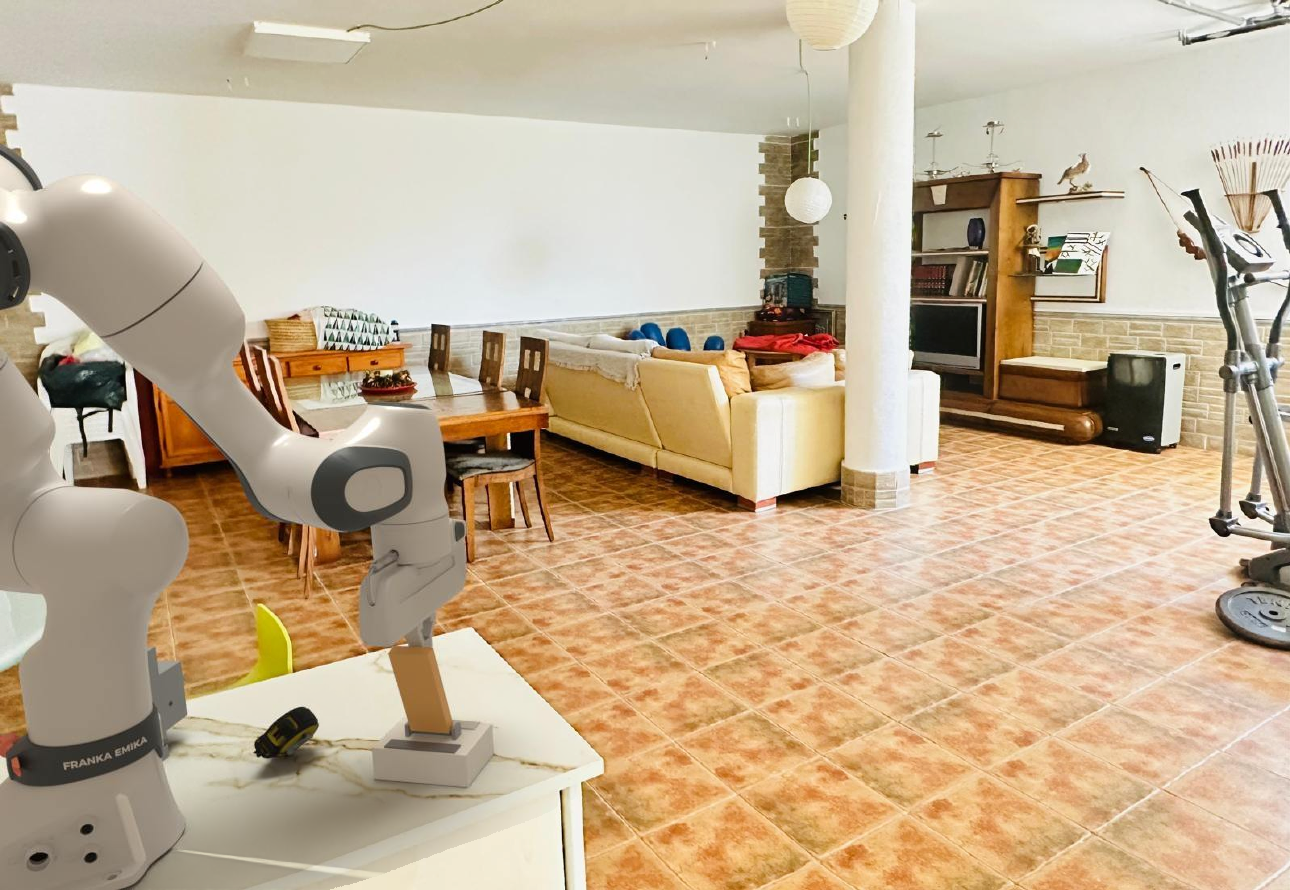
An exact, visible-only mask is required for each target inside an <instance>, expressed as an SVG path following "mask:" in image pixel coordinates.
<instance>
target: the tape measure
mask: <svg viewBox="0 0 1290 890" xmlns="http://www.w3.org/2000/svg"><path fill="white" fill-rule="evenodd" d="M319 726H320V723H319V720H318V718H317V716H316V715H315V714H314V713H313V711H312V710H311V709H310V708H307V707H305V706H298V707H295V708H293V709H290V710H288V711H286V712H285V713H284V714H282V715H281V716H280V717H279V718H278V719H276V720H275V721H274V722H273V723H271V725H270V726H269V727H268V728H267V729H266V731H265V732H264V733H263V734H261V735H260V736H259V737H258V738H256V739H255V741H254V744H253V747H254V749H255V750H254V751H253V754H254V755H255V757H256V758H260V757H262V758H263V759H267V760H269V759H272V758H273V759H274V758H282V757H283V758H284V757H287V756H291V755H293V753H294V752H295V751H296V750H297V749H299V748H300V747H301V746H303V745H304V744H306V743H307V742H308V741H310V740H311V739H313V737H314V735H315V733H316V732H317V731H318V728H320V727H319Z"/></svg>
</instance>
